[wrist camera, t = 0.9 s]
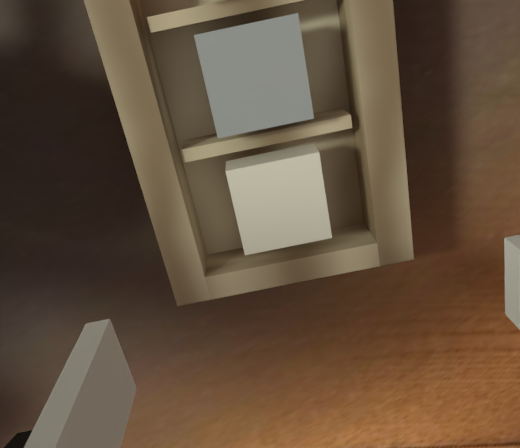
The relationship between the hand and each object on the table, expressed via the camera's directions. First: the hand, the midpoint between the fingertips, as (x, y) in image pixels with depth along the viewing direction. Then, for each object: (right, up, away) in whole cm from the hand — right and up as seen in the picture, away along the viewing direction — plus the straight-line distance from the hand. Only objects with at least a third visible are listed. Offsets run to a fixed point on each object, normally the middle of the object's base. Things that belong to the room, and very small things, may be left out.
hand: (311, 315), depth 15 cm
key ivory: (-1, +5, +12) cm, 13 cm away
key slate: (-2, +10, +10) cm, 14 cm away
